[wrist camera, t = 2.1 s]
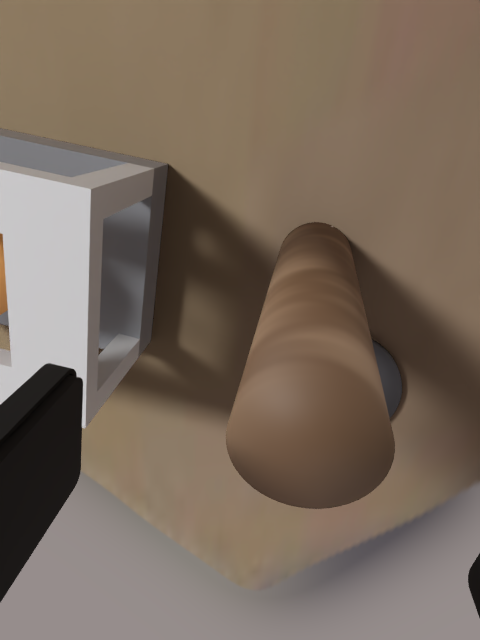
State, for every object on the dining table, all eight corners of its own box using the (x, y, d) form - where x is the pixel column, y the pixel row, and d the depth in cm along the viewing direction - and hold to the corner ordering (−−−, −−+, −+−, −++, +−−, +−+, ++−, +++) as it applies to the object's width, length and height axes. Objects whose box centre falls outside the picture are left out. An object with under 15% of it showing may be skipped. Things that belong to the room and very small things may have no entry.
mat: (419, 347, 23) (421, 351, 23) (377, 447, 26) (378, 451, 26) (289, 317, 24) (289, 320, 23) (263, 418, 27) (263, 422, 26)
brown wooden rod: (361, 231, 21) (420, 401, 9) (340, 298, 23) (365, 525, 10) (288, 215, 21) (240, 357, 9) (272, 282, 23) (214, 485, 10)
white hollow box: (168, 163, 21) (90, 188, 14) (150, 340, 26) (85, 428, 18) (-61, 115, 22) (-243, 115, 15) (-39, 294, 26) (-172, 361, 19)
